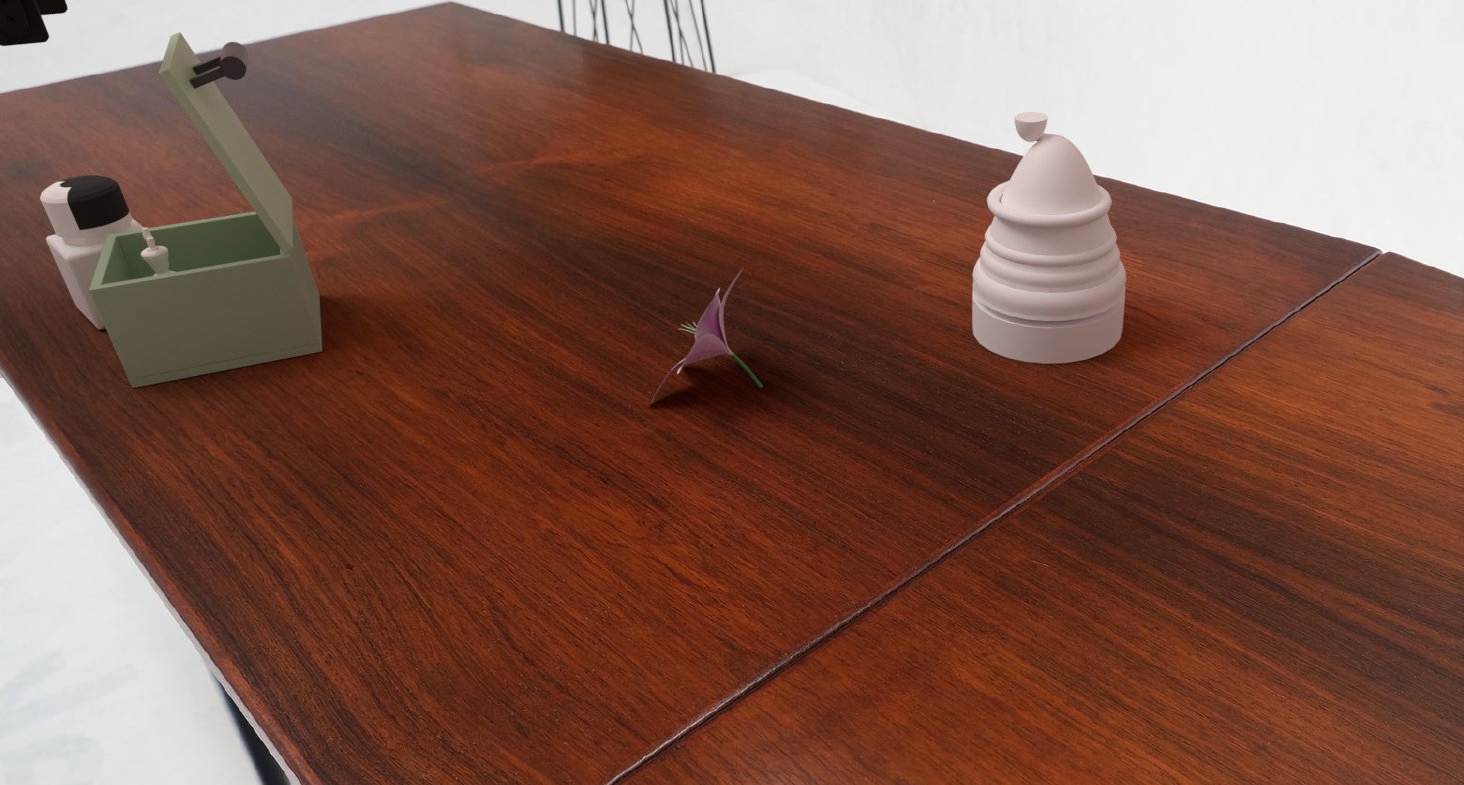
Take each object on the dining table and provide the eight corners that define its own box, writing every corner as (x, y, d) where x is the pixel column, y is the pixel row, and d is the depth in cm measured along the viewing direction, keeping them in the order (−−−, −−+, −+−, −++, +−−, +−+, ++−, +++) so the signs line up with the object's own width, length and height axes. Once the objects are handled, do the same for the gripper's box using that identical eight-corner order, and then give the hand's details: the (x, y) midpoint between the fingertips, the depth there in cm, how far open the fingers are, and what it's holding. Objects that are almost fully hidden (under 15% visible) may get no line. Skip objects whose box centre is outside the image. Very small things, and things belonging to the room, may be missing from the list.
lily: (746, 348, 104) (677, 261, 99) (835, 335, 96) (764, 239, 91) (664, 446, 98) (587, 359, 93) (751, 441, 90) (671, 344, 85)
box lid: (157, 73, 89) (223, 46, 89) (170, 35, 98) (229, 11, 99) (283, 253, 98) (341, 227, 99) (284, 202, 108) (336, 179, 109)
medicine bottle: (158, 284, 116) (108, 163, 109) (183, 306, 112) (132, 181, 105) (76, 308, 112) (19, 183, 105) (99, 332, 108) (41, 203, 101)
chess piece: (166, 356, 102) (119, 245, 96) (150, 337, 105) (104, 228, 99) (227, 337, 104) (185, 228, 99) (210, 319, 107) (169, 212, 102)
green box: (132, 388, 99) (88, 290, 94) (146, 326, 109) (106, 234, 104) (322, 351, 104) (290, 256, 99) (319, 295, 113) (289, 205, 108)
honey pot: (951, 350, 101) (948, 137, 91) (999, 288, 111) (1001, 89, 100) (1101, 374, 97) (1116, 153, 86) (1137, 307, 106) (1155, 102, 96)
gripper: (-108, -245, 85) (-3, 9, 95) (-179, -231, 72) (-49, 62, 82) (15, -248, 88) (105, 0, 97) (-32, -235, 74) (78, 50, 84)
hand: (35, 28), depth 89 cm, fingers open, 9 cm apart
